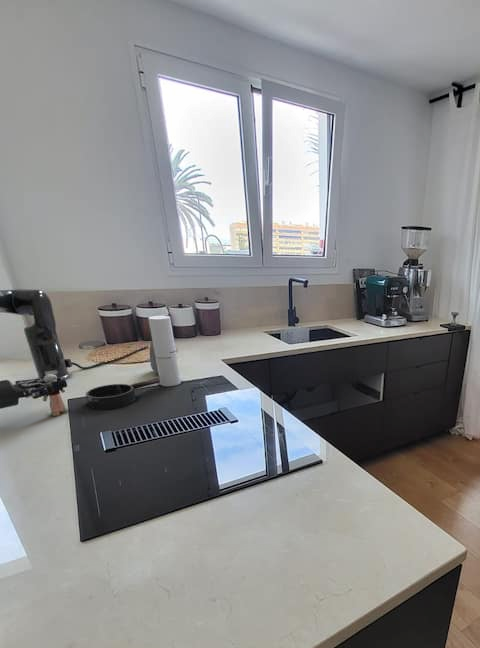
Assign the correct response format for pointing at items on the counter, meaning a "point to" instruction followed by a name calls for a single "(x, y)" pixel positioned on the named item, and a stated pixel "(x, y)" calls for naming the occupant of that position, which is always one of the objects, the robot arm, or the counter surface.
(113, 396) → the pan
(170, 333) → the cylindrical container
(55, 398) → the grandmother figurine
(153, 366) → the decorative rock
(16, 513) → the counter surface
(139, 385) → the pan handle
